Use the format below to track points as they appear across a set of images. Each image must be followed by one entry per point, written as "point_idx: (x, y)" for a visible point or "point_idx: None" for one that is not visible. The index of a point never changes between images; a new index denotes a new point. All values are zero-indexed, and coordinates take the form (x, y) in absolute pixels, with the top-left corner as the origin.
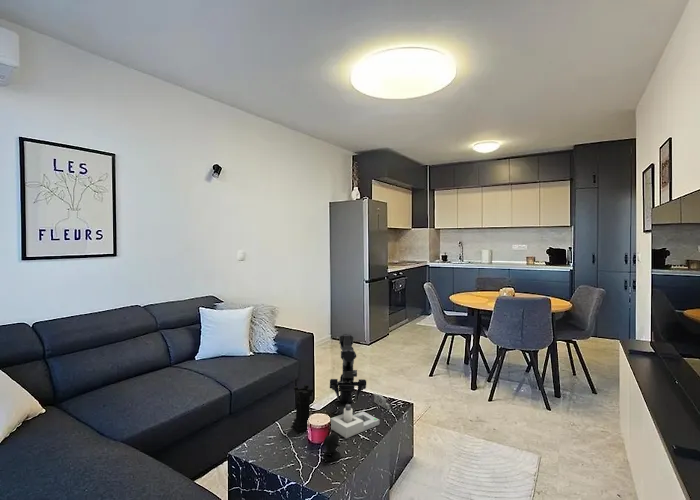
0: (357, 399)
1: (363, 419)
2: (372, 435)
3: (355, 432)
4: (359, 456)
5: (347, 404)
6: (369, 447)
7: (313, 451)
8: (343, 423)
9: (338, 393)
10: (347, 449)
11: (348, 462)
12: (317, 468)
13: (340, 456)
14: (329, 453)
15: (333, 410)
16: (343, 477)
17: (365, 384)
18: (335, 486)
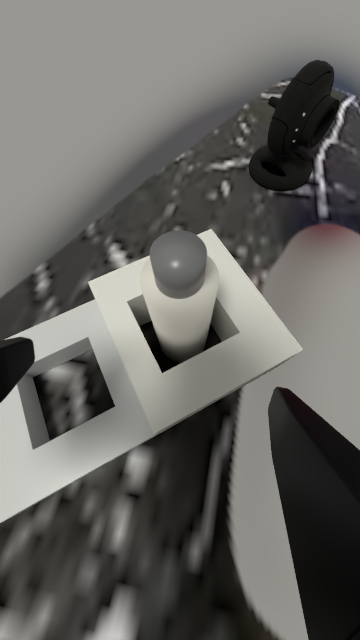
0: (19, 337)
1: (47, 440)
2: (82, 270)
3: None
4: (184, 165)
5: (183, 268)
6: (132, 200)
7: (347, 203)
8: (220, 271)
9: (331, 450)
10: (217, 199)
11: (226, 147)
12: (323, 136)
13: (251, 158)
14: (292, 154)
15: None
16: (250, 106)
17: None
18: (273, 88)
